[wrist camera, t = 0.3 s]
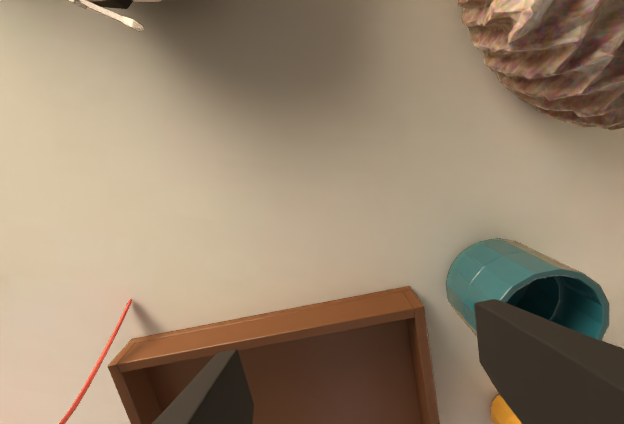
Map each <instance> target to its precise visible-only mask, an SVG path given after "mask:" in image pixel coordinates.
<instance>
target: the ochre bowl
mask: <svg viewBox="0 0 624 424" xmlns="http://www.w3.org/2000/svg"><path fill="white" fill-rule="evenodd" d="M490 411H491V421H492V423H493V424H522V423H521V422H520V420H519V419H518V418H517V417H516V415H515V414H514V413H513V411H512V410H511V409H510V407H509V406H508V405H507V404H506V402H505V401H504V400H503V398H502V397H501V396H500V394H499V395H497V396H496V398H495V399H494V400H493V402H492V405H491V410H490Z"/></svg>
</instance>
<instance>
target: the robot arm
mask: <svg viewBox="0 0 624 424" xmlns="http://www.w3.org/2000/svg"><path fill="white" fill-rule="evenodd" d="M474 309H475V319H476V329H477V339H478V349H479V359H480V363H481V365H482V366H483V368H484V370H485V371H486V373H487V375H488V376H489V378H490V380H491V381H492V383H493V385H494V386H495V388H496V389H497V391H498V392H499V394H500V396H501V397H502V398H503V400H504V401H505V402H506V404H507V405H508V406H509V407H510V409H511V410H512V411H513V413H514V414H515V415H516V417H517V418H518V419H519V420H520V422H521V423H522V424H624V349H623V348H620V347H617V346H614V345H612V344H609V343H606V342H603V341H601V340H598V339H595V338H593V337H590V336H587V335H585V334H582V333H580V332H577V331H574V330H572V329H569V328H567V327H564V326H562V325H559V324H557V323H554V322H552V321H550V320H547V319H545V318H542V317H540V316H537V315H535V314H532V313H530V312H528V311H525V310H523V309H520V308H518V307H515V306H513V305H510V304H508V303H505V302H502V301H499V300H496V299H492V300H487V301H481V302H476V303H474ZM253 411H254V402H253V399H252V396H251V392H250V389H249V386H248V383H247V379H246V376H245V373H244V369H243V366H242V363H241V359H240V356H239V353H238V349H234V350H229V351H224V352H219V353H217V354H216V355H215V356H214V357H213V358H212V359H211V360H210V361H209V362H208V363H207V364H206V366H205V367H204V368H203V369H202V370H201V371H200V372H199V373H198V374H197V375H196V377H195V378H194V379H193V380H192V381H191V382H190V383H189V384H188V385H187V386H186V388H185V389H184V390H183V391H182V392H181V393H180V394H179V395H178V396H177V397H176V398H175V400H174V401H173V402H172V403H171V404H170V405H169V406H168V407H167V408H166V409H165V410H164V411H163V412H162V413H161V414H160V415H159V416H158V418H157V419H156V420H155V421H154V422H153V423H152V424H252V422H253Z"/></svg>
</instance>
